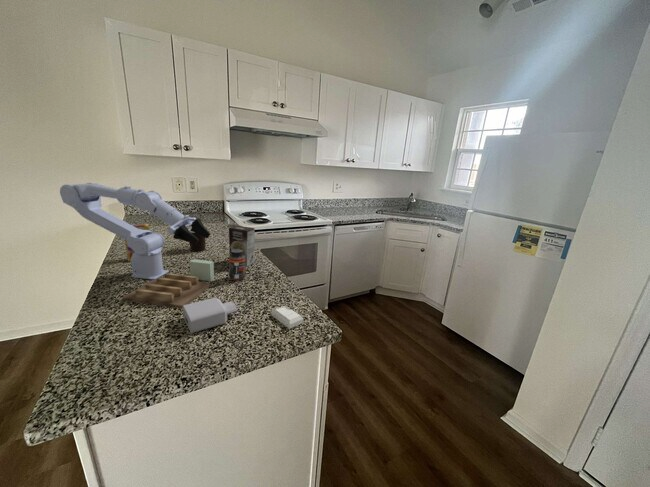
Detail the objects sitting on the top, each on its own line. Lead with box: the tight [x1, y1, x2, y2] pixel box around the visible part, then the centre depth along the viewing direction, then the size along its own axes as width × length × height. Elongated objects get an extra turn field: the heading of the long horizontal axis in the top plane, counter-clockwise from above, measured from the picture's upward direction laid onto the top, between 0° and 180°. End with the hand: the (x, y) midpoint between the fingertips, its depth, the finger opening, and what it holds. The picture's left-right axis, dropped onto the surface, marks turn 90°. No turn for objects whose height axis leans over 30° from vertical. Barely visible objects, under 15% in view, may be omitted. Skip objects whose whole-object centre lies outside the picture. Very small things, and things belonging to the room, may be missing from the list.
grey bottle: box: [182, 297, 243, 334], centre depth 78 cm, size 5×9×15 cm
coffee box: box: [228, 225, 256, 267], centre depth 118 cm, size 9×6×16 cm
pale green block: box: [189, 258, 215, 282], centre depth 101 cm, size 8×2×7 cm, turn 83°
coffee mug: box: [187, 228, 207, 253], centre depth 132 cm, size 12×9×10 cm
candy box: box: [124, 222, 151, 262], centre depth 114 cm, size 9×4×15 cm, turn 126°
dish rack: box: [121, 272, 212, 310], centre depth 90 cm, size 20×16×4 cm
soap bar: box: [271, 305, 304, 330], centre depth 80 cm, size 5×9×3 cm, turn 44°
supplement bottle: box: [228, 249, 246, 282], centre depth 103 cm, size 6×6×11 cm
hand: (203, 239), depth 96 cm, fingers open, 7 cm apart
